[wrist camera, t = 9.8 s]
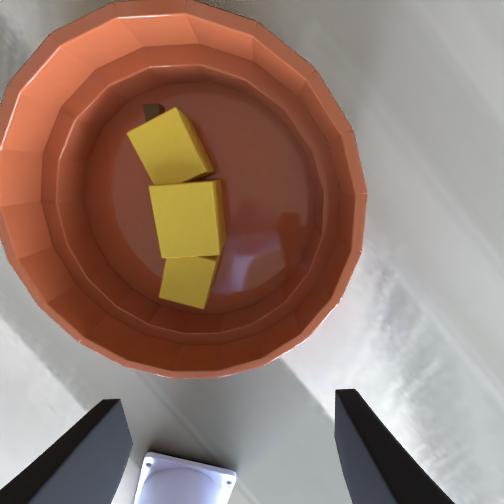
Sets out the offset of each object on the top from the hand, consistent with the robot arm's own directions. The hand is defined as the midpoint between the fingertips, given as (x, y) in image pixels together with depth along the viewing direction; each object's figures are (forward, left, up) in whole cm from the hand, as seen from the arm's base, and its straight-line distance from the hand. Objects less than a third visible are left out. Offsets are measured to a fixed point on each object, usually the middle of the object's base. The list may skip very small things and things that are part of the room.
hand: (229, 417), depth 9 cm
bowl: (+5, +4, -9) cm, 11 cm away
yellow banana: (+5, +4, -9) cm, 11 cm away
